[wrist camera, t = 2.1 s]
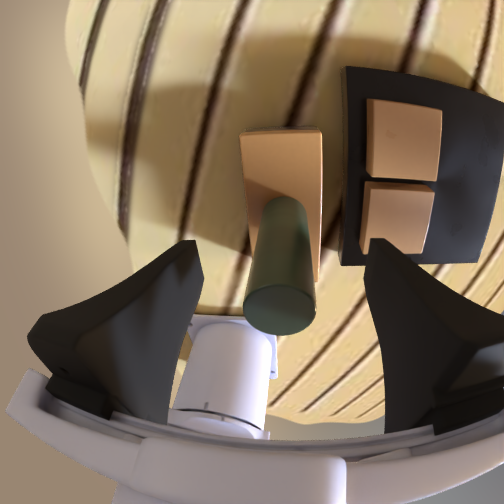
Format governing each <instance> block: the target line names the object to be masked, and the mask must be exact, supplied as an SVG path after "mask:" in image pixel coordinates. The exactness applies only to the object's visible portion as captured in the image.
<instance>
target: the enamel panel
mask: <svg viewBox="0 0 504 504" xmlns="http://www.w3.org/2000/svg"><path fill="white" fill-rule="evenodd" d="M340 70H341V85H342V107H343V179H342V202H341V219H340V233H339V245H338V256H339V260H340V265H341V266H366V261H367V255H368V254H363V253H362V250H361V247H360V245H359V239H360V230H361V221H362V212H363V201H364V188H365V182H366V181H368V182H390V183H407V184H420V185H427V186H428V187H429V188H430V189H431V190H433V191H434V192H435V194H434V200H433V205H432V211H431V216H430V221H429V225H428V230H427V234H426V238H425V242H424V246H423V250H422V253H414V254H405V255H406V256H407V257H409V258H410V259H411V260H412V261H413V262H415V263H416V264H450V263H477V262H478V259H479V257H480V254H481V251H482V248H483V245H484V242H485V239H486V235H487V232H488V229H489V225H490V222H491V218H492V214H493V210H494V206H495V202H496V197H497V193H498V188H499V182H500V177H501V171H502V164H503V157H504V103H503V102H501V101H499V100H496V99H494V98H491V97H488V96H486V95H483V94H480V93H477V92H475V91H472V90H469V89H465V88H462V87H459V86H456V85H452V84H449V83H445V82H441V81H438V80H433V79H429V78H425V77H420V76H416V75H411V74H405V73H400V72H394V71H388V70H381V69H373V68H364V67H353V66H345V67H343V68H341V69H340ZM368 98H369V99H379V100H388V101H395V102H402V103H409V104H415V105H420V106H426V107H431V108H436V109H440V110H442V127H441V143H440V154H439V164H438V172H437V180H436V181H426V180H414V179H400V178H383V177H371V176H370V174H369V173H368V172H367V171H366V153H367V99H368Z"/></svg>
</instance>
